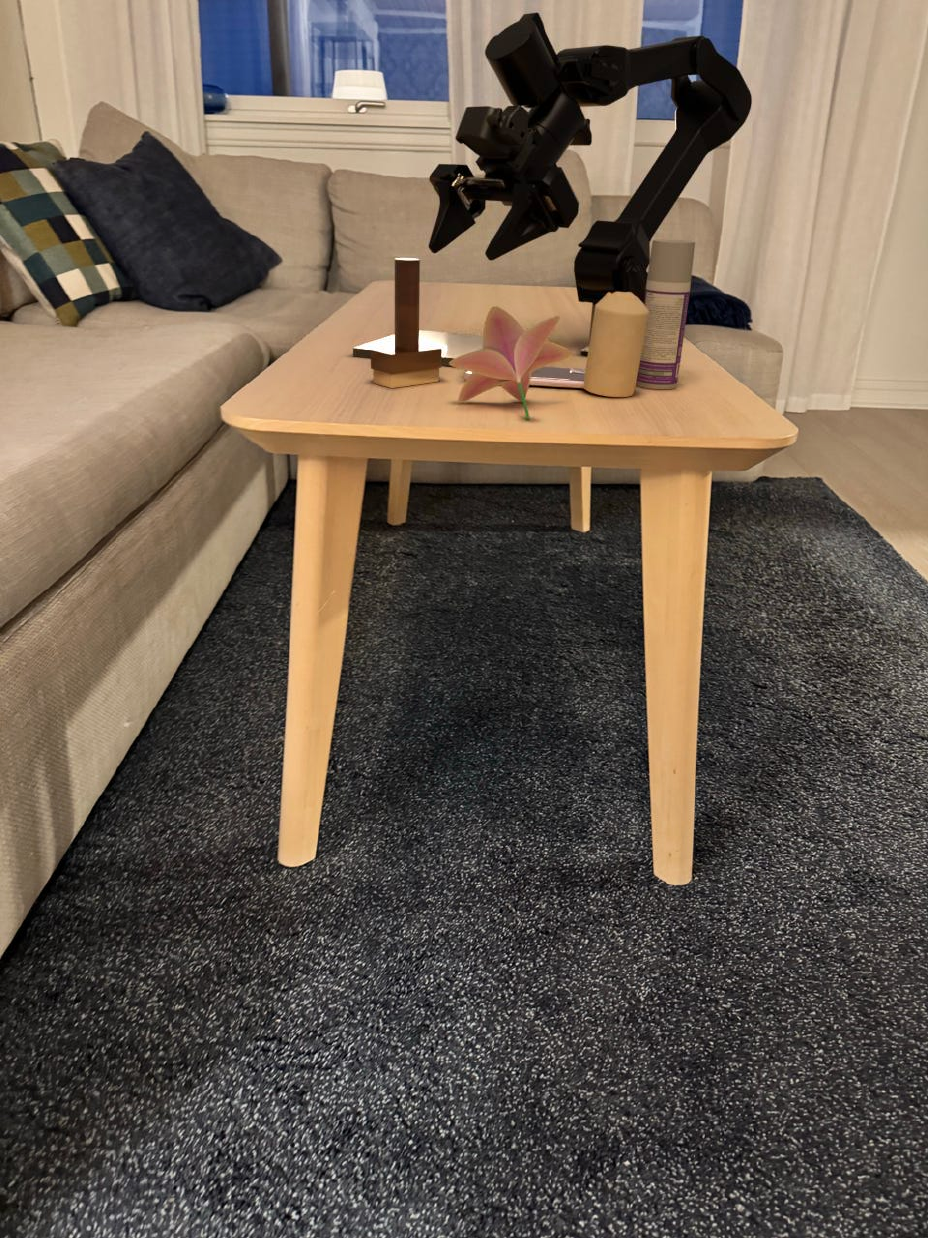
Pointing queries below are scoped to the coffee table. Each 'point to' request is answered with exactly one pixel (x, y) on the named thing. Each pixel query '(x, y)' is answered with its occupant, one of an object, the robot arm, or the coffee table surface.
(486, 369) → the lily
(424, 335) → the panel
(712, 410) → the coffee table surface
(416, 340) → the brush
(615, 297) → the candle
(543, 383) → the mobile phone
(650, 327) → the container
